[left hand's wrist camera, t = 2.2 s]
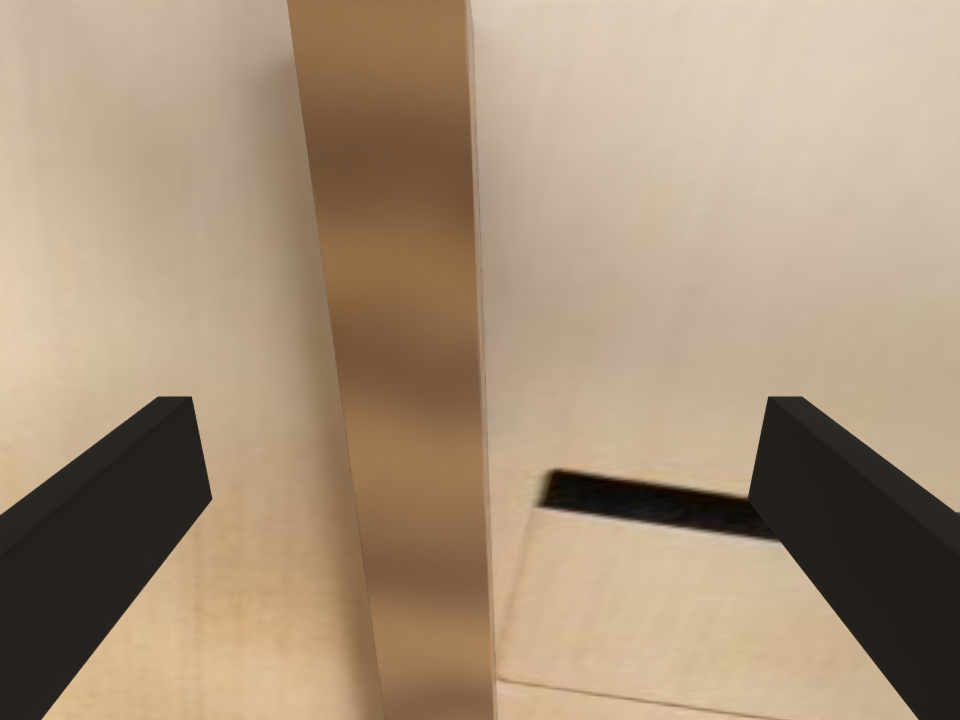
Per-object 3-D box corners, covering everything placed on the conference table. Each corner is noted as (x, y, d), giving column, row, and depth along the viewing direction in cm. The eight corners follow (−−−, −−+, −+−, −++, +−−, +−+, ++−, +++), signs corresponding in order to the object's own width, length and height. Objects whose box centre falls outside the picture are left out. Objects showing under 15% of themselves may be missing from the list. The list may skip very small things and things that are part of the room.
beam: (356, 25, 22) (279, -51, 14) (472, 20, 22) (464, -60, 14) (448, 953, 45) (440, 1129, 37) (505, 953, 45) (509, 1130, 37)
